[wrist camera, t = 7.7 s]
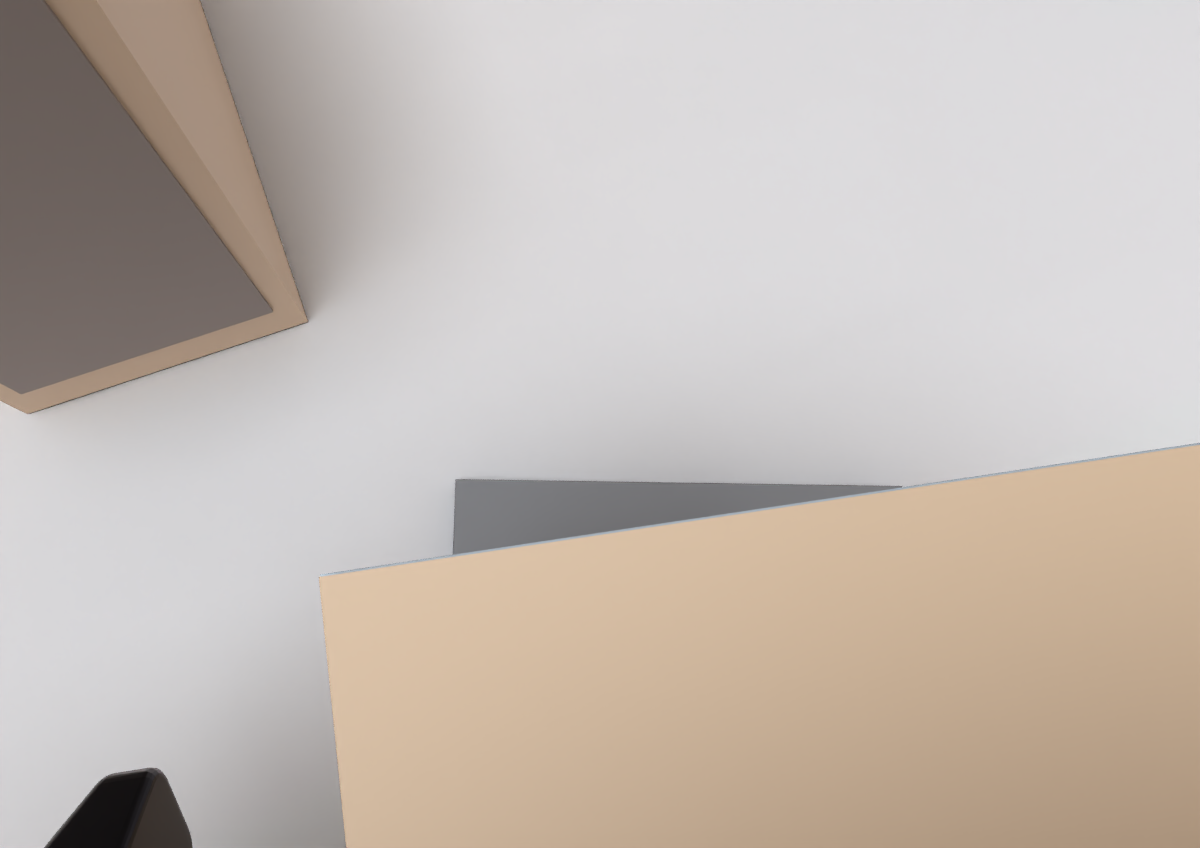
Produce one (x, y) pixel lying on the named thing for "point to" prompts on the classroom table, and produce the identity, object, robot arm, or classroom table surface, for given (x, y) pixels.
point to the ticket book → (125, 201)
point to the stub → (793, 675)
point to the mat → (606, 506)
